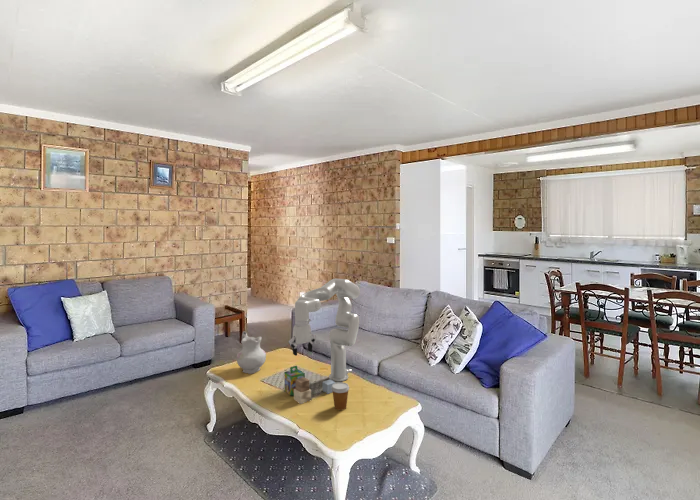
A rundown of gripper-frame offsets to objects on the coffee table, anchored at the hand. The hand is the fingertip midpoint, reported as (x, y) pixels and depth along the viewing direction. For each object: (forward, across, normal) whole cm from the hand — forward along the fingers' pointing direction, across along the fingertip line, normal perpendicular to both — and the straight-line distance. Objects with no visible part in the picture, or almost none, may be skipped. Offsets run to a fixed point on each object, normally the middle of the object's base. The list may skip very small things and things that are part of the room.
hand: (302, 353), depth 213 cm
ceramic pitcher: (+27, +4, -60) cm, 66 cm away
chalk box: (+27, -1, -11) cm, 29 cm away
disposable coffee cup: (+27, -10, +21) cm, 35 cm away
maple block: (+26, +1, +1) cm, 27 cm away
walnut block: (+20, +1, 0) cm, 21 cm away
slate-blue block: (+27, -17, +1) cm, 32 cm away
